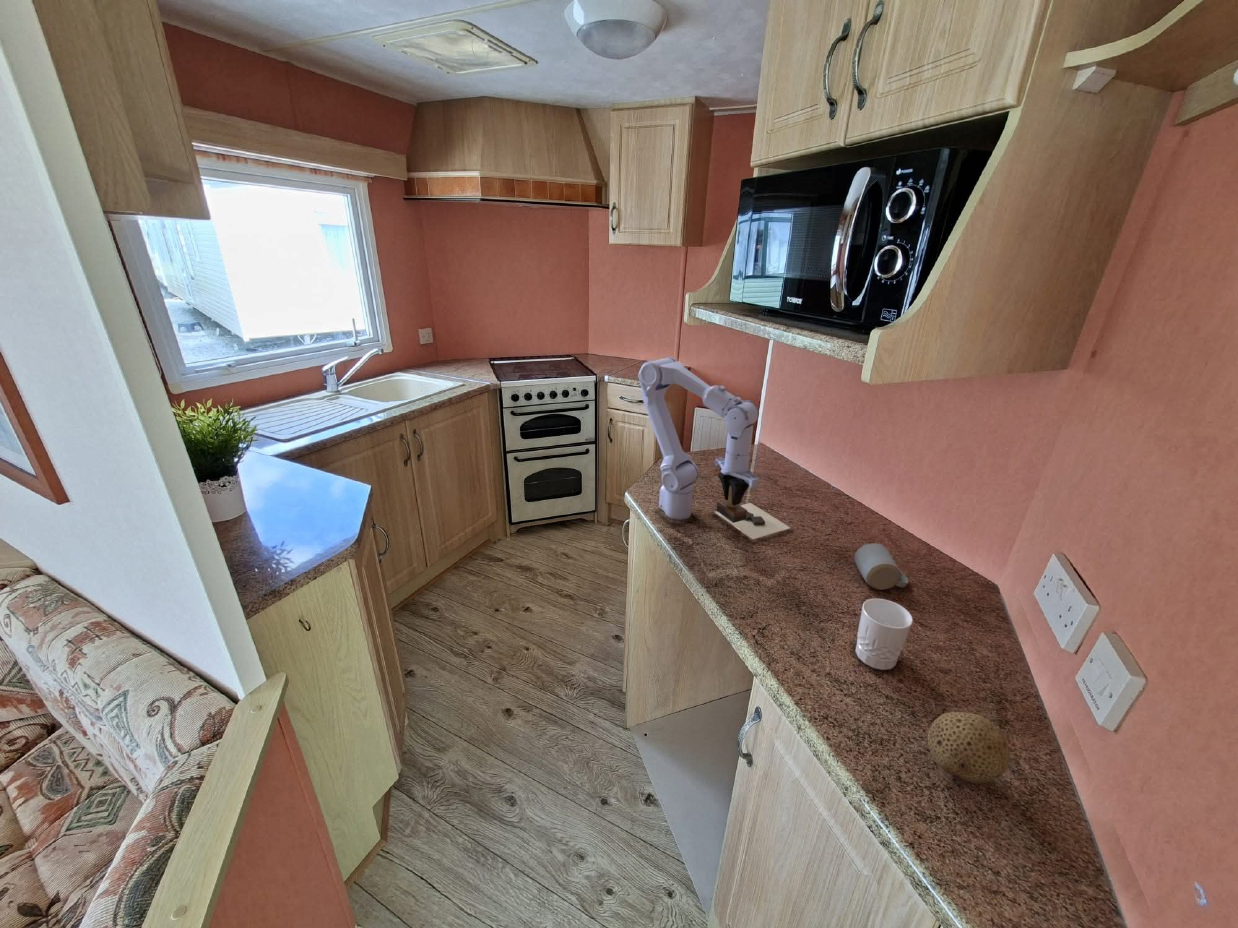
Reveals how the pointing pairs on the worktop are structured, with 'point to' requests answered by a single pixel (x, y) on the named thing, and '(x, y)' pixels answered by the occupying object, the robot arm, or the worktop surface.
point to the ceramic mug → (879, 567)
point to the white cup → (882, 633)
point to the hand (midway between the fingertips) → (732, 501)
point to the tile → (757, 530)
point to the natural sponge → (968, 747)
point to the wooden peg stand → (731, 509)
